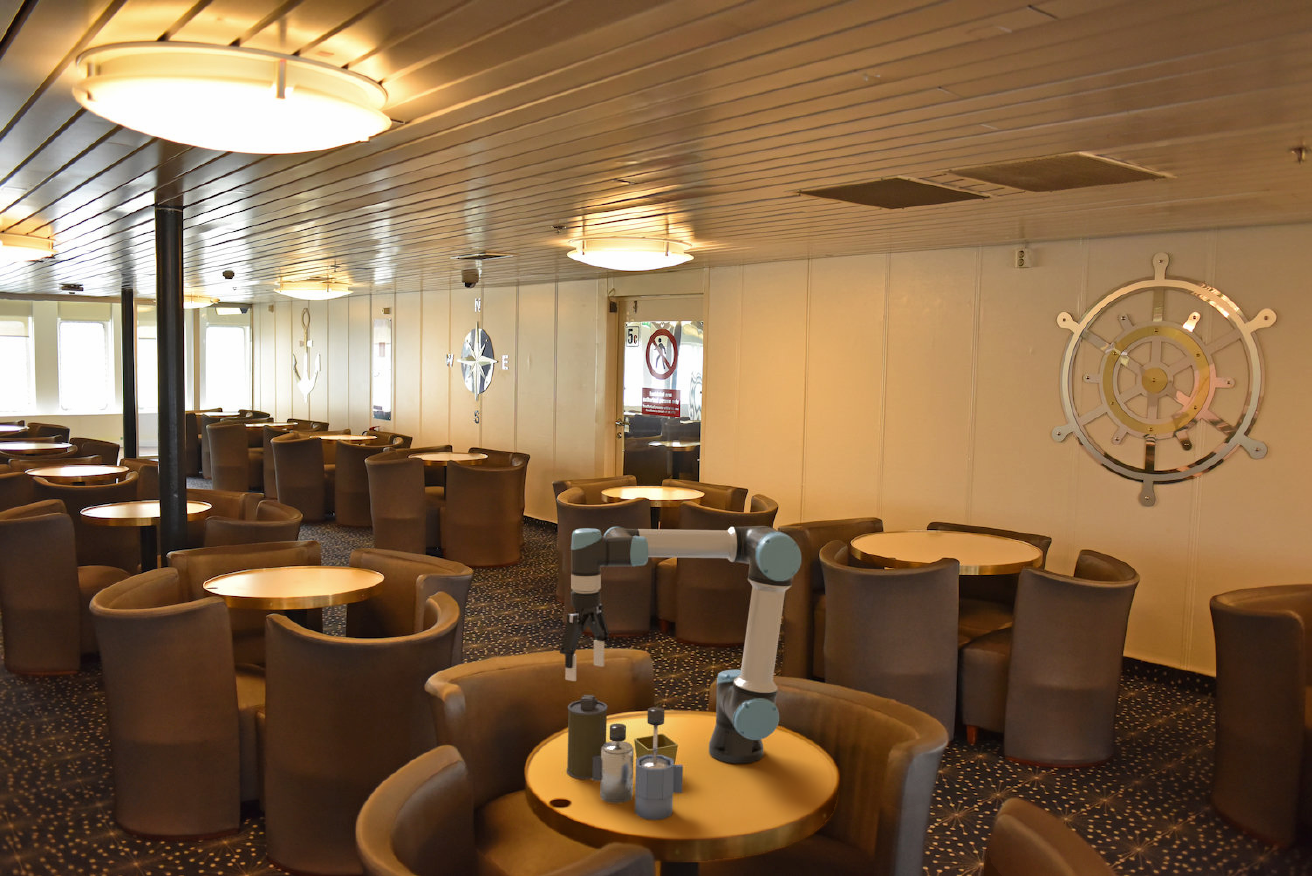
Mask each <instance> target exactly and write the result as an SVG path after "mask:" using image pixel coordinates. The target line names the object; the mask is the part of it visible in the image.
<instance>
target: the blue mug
mask: <svg viewBox="0 0 1312 876" xmlns="http://www.w3.org/2000/svg"><path fill="white" fill-rule="evenodd" d="M648 758H653V755H644V756H642V757H639V758H635V776H634V777H635V779H634V781H635V782H634V783H635V786H634V789H635V790H634V792H635V793H634V813H635V814H636V816H638V817H639V818H642V819H644V820H648V821H659V820H660V821H661V820H664V819H667V818H670V816H672V815H673V805H674V804H673V801H674V800H673V799H674V798H673V797H674V794H683V777H684V774H683V773H684V765H683V764H675V765H674V761H673V759H671V758H669V757H666V756H664V755H657V758H660V759H664V760H666V761H667V762H668V763H669V766H667V767H665V768H662V769H650V768H646V767H644V766H641V762H642V761H643V760H645V759H648Z"/></svg>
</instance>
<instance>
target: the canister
mask: <svg viewBox="0 0 1312 876" xmlns="http://www.w3.org/2000/svg"><path fill="white" fill-rule="evenodd" d="M567 710H568V718H567V719H568V721H567V723H568V725H567V727H568V728H567V730H568V731H567V766H566V773H567V774H568V775H569V776H570V777H572V778H575V779H579V780H592V776H593V756H601V748H602V746H603V745H604V744H605V743H607V723H608V722H607V719H608V718H607V716H608V715H607V714H608V713H607V712H608V705H607V704H606V703H605V702H602V701H600V700H598V698H596V695H592V694H583V695H582V697H581V698H580V700H576V701H573V702H571V703H569V704H568V706H567Z"/></svg>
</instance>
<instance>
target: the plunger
mask: <svg viewBox="0 0 1312 876" xmlns="http://www.w3.org/2000/svg"><path fill="white" fill-rule="evenodd" d="M646 723H647V724H649V725H650V726H653V733H652V735H653V758H648V759H645V760H643V761H642V762H641V766H644V767H646V768H650V769H662V768H665V767H667V766H669V763H668V762H667V761H666V760H664V759H660V758H657V738H658V734H659V733H658V732H659V731H658V729H659V727H658V726H662V725H663V724H665V708H662V707H659V706H653V707H649V708H648V709H647V722H646Z"/></svg>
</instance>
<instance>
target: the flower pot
mask: <svg viewBox="0 0 1312 876" xmlns="http://www.w3.org/2000/svg"><path fill="white" fill-rule="evenodd" d="M633 742H634V751H635V757H636V758H635V759H637V758H639V757H642V756H644V755H653V734H652V735H647V736H641V737H635V738H634V739H633ZM678 747H679V744H678V743H677V742H676V741H674V740H673V739H671V738H670V737H669V736H667V735H666V734H665V733H658V738H657V755H664V756H666V757H669V758H671V759H673V761H674V765H676V762H677V761H676V759H677V754H678V753H677V752H678Z"/></svg>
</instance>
